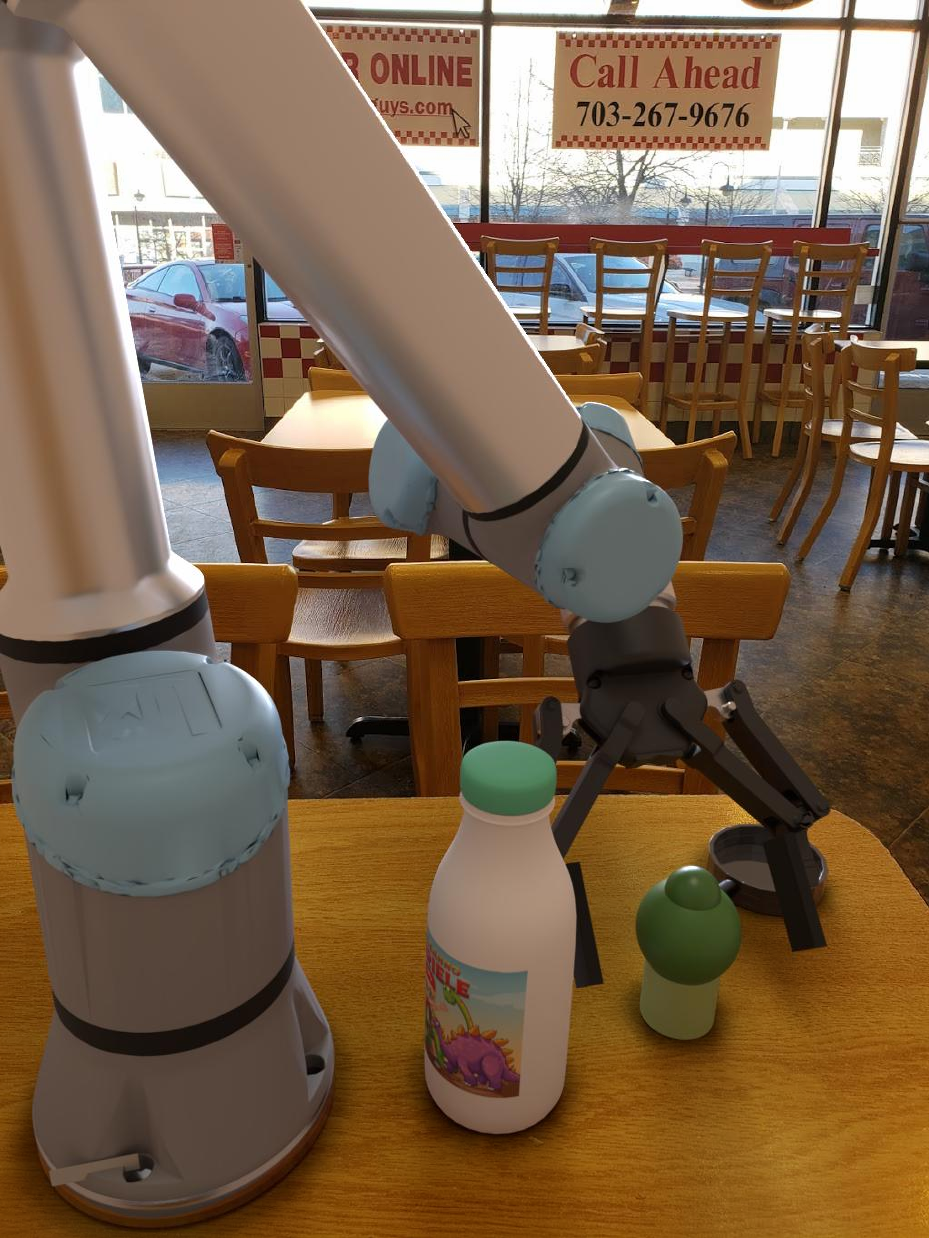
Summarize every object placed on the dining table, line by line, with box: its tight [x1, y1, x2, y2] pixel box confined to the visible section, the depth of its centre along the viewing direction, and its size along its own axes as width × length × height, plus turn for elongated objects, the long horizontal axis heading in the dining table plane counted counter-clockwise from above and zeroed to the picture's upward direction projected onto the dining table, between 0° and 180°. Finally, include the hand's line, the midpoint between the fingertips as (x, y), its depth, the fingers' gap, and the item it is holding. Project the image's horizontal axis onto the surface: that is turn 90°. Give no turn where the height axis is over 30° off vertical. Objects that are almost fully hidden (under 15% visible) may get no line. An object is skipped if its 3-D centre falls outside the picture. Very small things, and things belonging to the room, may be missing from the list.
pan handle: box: [719, 880, 737, 898], centre depth 64 cm, size 1×8×1 cm, turn 131°
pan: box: [705, 823, 829, 916], centre depth 69 cm, size 8×8×2 cm
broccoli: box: [634, 865, 743, 1041], centre depth 55 cm, size 6×6×10 cm
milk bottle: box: [424, 740, 576, 1135], centre depth 48 cm, size 8×8×20 cm
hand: (703, 968), depth 53 cm, fingers open, 13 cm apart
